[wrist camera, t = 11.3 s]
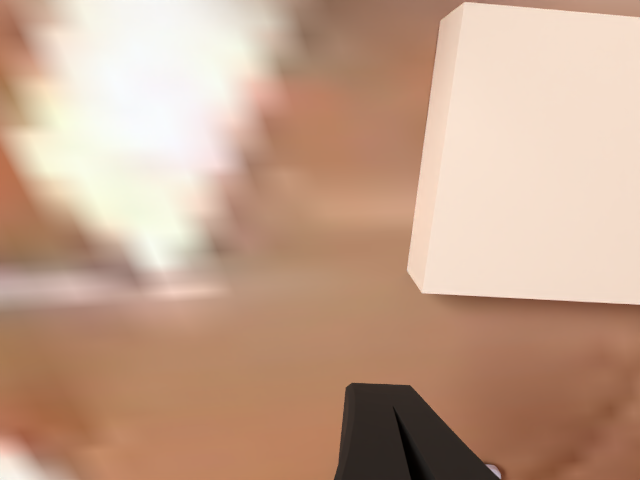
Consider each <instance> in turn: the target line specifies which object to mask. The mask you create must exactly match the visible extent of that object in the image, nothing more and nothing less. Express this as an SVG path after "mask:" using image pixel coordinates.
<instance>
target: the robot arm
mask: <svg viewBox="0 0 640 480" xmlns="http://www.w3.org/2000/svg"><path fill="white" fill-rule="evenodd" d="M334 480H501V474H500V472H499V470H498V468H497V467H496V466H494V465H488V464H484V463H483V462H482V461H481V460H480V459H479V458H478V457H477V456H476V455H475V454H474V453H473V452H472V451H471V450H470V449H469V448H468V447H467V446H466V445H465V444H464V443H463V442H462V440H461V439H460V438H459V437H458V436H457V435H456V434H455V433H454V432H453V431H452V430H451V429H450V428H449V427H448V426H447V425H446V424H445V422H444V421H443V420H442V419H441V418H440V417H439V416H438V415H437V414H436V413H435V412H434V411H433V410H432V408H431V407H430V406H429V405H428V404H427V403H426V402H425V401H424V400H423V399H422V397H421V396H420V395H419V394H418V393H417V392H416V391H415V390H414V389H413V388H412V387H411V386H410V385H390V384H366V383H351V384H350V385H349V386H347V387H346V392H345V402H344V412H343V422H342V432H341V442H340V452H339V464H338V468H337V471H336V475H335V478H334Z"/></svg>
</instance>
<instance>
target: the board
mask: <svg viewBox="0 0 640 480" xmlns="http://www.w3.org/2000/svg"><path fill="white" fill-rule="evenodd" d="M407 272H408V273H409V275H410V276H411V278H412V279H413V280H414V282H415V283H416V285H417V286H418V288H419V289H420V291H421V292H422V293H430V294H449V295H468V296H487V297H506V298H524V299H543V300H562V301H581V302H600V303H619V304H638V305H640V17H629V16H618V15H606V14H595V13H584V12H572V11H561V10H550V9H538V8H527V7H516V6H504V5H493V4H482V3H470V2H464V3H463V4H461V5H460V6H459V7H457V8H456V9H455V10H453V11H452V12H451V13H449V14H448V15H447V16H445V17H444V18H443V19H442V20H440V26H439V34H438V41H437V49H436V56H435V64H434V71H433V79H432V86H431V94H430V101H429V109H428V116H427V124H426V131H425V139H424V146H423V154H422V161H421V169H420V176H419V184H418V191H417V199H416V206H415V214H414V221H413V229H412V236H411V244H410V251H409V259H408V266H407Z"/></svg>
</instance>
